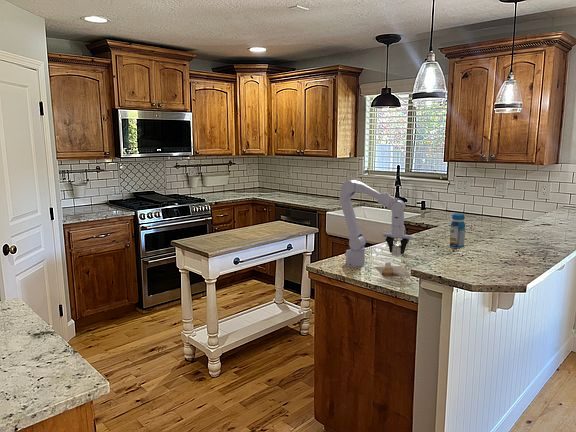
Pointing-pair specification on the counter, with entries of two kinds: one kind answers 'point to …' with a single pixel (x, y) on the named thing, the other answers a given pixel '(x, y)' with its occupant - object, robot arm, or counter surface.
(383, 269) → the jar
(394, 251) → the cap
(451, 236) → the beverage bottle
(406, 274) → the board
